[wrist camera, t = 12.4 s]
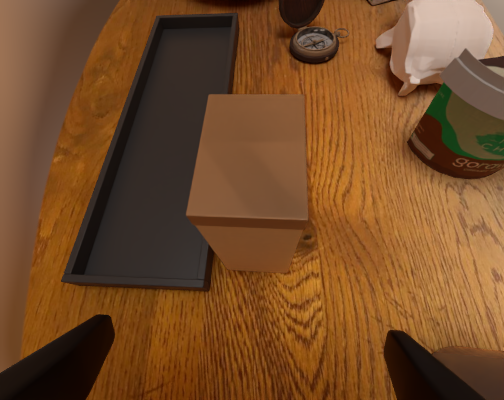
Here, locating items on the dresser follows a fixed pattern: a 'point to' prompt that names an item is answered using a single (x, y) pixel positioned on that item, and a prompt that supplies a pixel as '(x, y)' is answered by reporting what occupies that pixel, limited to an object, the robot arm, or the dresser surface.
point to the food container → (464, 120)
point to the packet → (251, 180)
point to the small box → (377, 1)
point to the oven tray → (157, 163)
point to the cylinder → (476, 368)
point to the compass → (309, 31)
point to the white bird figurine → (434, 39)
